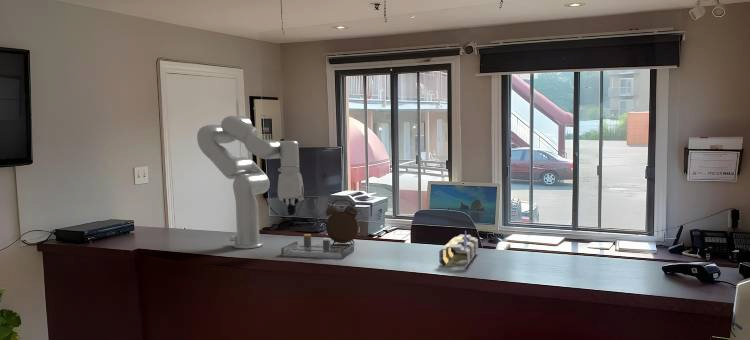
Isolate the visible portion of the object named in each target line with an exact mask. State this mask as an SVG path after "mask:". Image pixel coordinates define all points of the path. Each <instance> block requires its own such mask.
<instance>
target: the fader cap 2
mask: <svg viewBox="0 0 750 340" xmlns="http://www.w3.org/2000/svg"><path fill="white" fill-rule="evenodd" d="M322 245H323V250H326V251H329V250H330V246H331V238H330V237H324V238H322Z"/></svg>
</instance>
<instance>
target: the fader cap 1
mask: <svg viewBox="0 0 750 340" xmlns="http://www.w3.org/2000/svg"><path fill="white" fill-rule="evenodd" d="M311 236H312V234H310V233H304V234H303V245H304V246H311V245H312V237H311Z"/></svg>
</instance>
